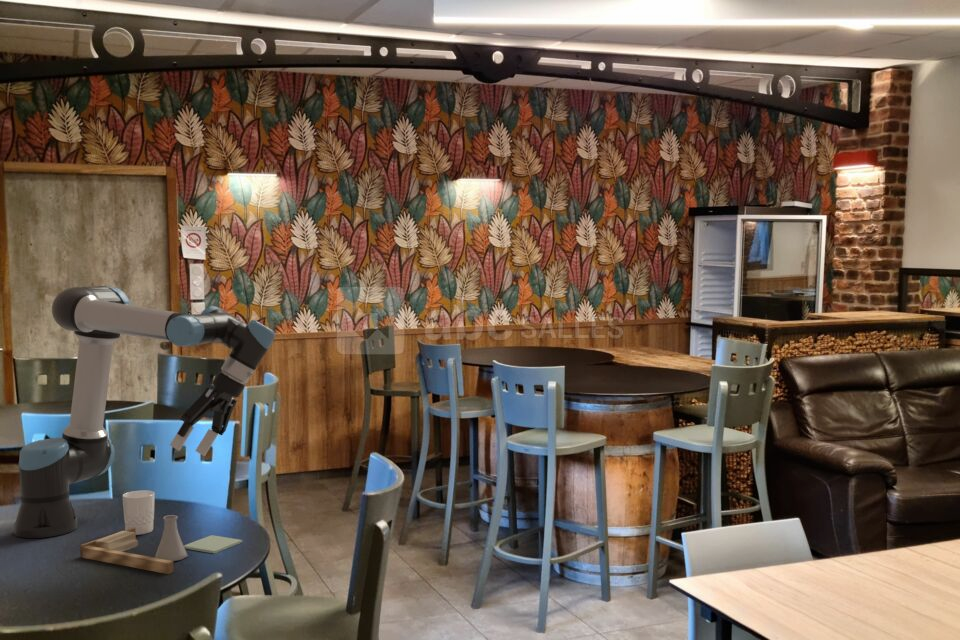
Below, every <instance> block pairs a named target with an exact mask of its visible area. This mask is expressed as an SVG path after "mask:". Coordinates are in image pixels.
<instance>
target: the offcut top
mask: <svg viewBox="0 0 960 640" xmlns="http://www.w3.org/2000/svg"><path fill="white" fill-rule="evenodd" d="M112 534H113V535H112ZM112 534H109V535H110V536H109V535H107V536H108V537H106V536H104V537H105V538H103V537H101V538H102V539H100V538H99V539H100V540H97V539H96V540H97V541H96V547H99V548H104V549H110V550H113V549H115V548H118V547H120V546H123V545H125V544H128V543H130V542H133V541H135V540H137V538H136V536H137V535H136V536H135V532H128V531H124V530H121V531H119V532H116V533H112Z"/></svg>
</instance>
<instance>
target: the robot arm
mask: <svg viewBox="0 0 960 640" xmlns="http://www.w3.org/2000/svg"><path fill="white" fill-rule="evenodd" d="M51 313H52V314H51V315H52V317H53V320H54V321H55V322H56V324H57V325H58V326H59V327H61V328H62V329H64V330H67V331H69V332H70V331H71V332H74V333H73V334H74V336H75V337H76V338H77V339H78V341H79V342H78V349H77V358H76V366H75V374H74V375H75V376H74V383H73V384H74V385H73V393H72V400H71V401H72V402H71V409H70V418H69V419H70V420H69V424H68V425H67V426H66V427H64V428H63V430H62V433H61V434H62V435H61V438H60V437H52V438H45V439H39V440H35V441H33V442H30V443H27V444H25V445H23V447H22V448H21V449H20V451H19V461H18V467H19V468H18V469H19V470H18V471H19V490H20V491H19V492H20V494H19V495H20V505H19V508H18V511H17V515H16V519H15V522H14V525H13V535H14V536H15V537H19V538H24V539H42V538H50V537H56V536H61V535H65V534H68V533H72V532H73V531H74V530H77V528H78V518H77V515H76V512H75V510H74V507H73V505H72V502H71V499H70V485H72V484H76V483H78V482H79V483H80V482H83V481H85V480H91V479H94V478H97V477H98V476H100V475H102V474H104V473H106V472H107V471H108V470H110V468H111V467H112V464H113V463H114V459H115V452H116V451H115V446H114V445H113V444H112V439H110V437H108V436H109V431H108V430H106V428H104V421H105V416H106V415H105V413H106V405H107V398H108V397H107V396H108V388H109V380H110V372H111V365H112V358H113V357H112V356H113V355H112V354H113V346H114V343H115V342H117V341H118V340H119V339H121V335H126V336H132V337H140V338H145V339H151V340H157V341H164V342H169V343H170V342H171V343H172V344H173V345H174V346H177V347H186V348H187V347H188V348H189V347H191V348H192V347H194V346H198V345H199V346H200V345H207V344H215V343H220V344H222V345H223V346H225V347H227V348H228V349H230V350H231V351H230V354H228V357H226V360H225V361H224V363H223V364H222V366H221V367H220V368H221V371H219V372H218V371H217V374H216V375H215V377H214V379H213V380H212V385H213V386H214V388H213V389H212V388H210V387H207V388H205V390H204V391H203V393H202V394H201V395H200V396H199V397H198V399H196V400H195V402H193V404H192V405H191V406H189V407H188V409H187V410H186V411H185V412H184V413H182V415H181V418H180V420H181V421H182V424H181V426H180V428H179V430H177V432H176V434H175V435H174V437H173V439H172V441H171V442H170V444H169V446H171V448H173V449H175V450H177V451H179V452H180V451H181V449H182V448H183V446H184V444H185V443H186V441H187V440H188V438H189V437H190V434H191V433H192V432H193V430H194V425H195V424H196V423H198V422H199V421H201V420H202V419H203V418H204V417H205V416H207V415H208V414H209V413H211V412H212V413H213V416H212V417H213V418H212V423H211V428H208V430H207V431H206V433H205V434H204V436H203V438H202V439H201V441H200V443H199V444H198V445H197V447H196V449H195V452H197V453H198V454H200V455H201V456H203V457H205V456H206V455H207V454H208V452H209V450H210V449H211V447H212V445H213V444H214V442H215V440H216V439H217V437H218V435H220V436H223V435H224V433H225V432H226V430H227V427H228V425H229V421H230V419H231V416H232V413H233V411H234V407H235V405H236V404H237V402H238V400H237V399H236V398H239V397H240V395H241V394H242V392H243V390H244V389H245V384H247V383H248V382H249V381H250V379H251V378H253V377H254V373H255V370H257V367H258V366H259V365H260V363H261V361H262V359H263V358H264V356H265V355H266V353H267V352H268V351H269V350H270V347H271V346H272V343H273V341H274V339H275V338H276V332H275V331H274V330H272V329H271V328H269V327H268V326H266V325H264V324H263V323H261V322H259V321H258V320H256V319H251V320H250V321H249V322H248V323H245V322H244V321H242V320H240V319H239V318H238V317H235V316H234V315H232V314H231V313H229V312H228V311H226V310H225V309H222V308H219V307H218V306H215V305H210V306H208V307H207V308H205V309H203V310H202V311H201V313H200V314H192V313H191V314H190V313H186V312H178V311H170V310H164V309H157V308H150V307H143V306H137V305H133V304H132V303H131V300H130V299H129V297H128V296H127V295H126V293H125V291H123V290H121V289H119V288H118V287H115V286H107V285H98V286H73V287H69V288H66V289H64V290H62V291H61V292H60V293H58V294H57V295H56V296H55V298H54V299H53V302H52V305H51Z"/></svg>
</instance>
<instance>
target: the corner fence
mask: <svg viewBox="0 0 960 640" xmlns="http://www.w3.org/2000/svg"><path fill="white" fill-rule="evenodd" d="M123 531H128V532H135V536H137V535H136V530H135V528H130V529H127V530H126V529H124V530H123ZM113 534H114V533H112V534H109V535H106V536H103V537H100V538H97V539H94V540H91V541H88V542H85V543H82V544H80V546H79V547H80V549H79V550H80V551H79V552H80V558H83V559H86V560H87V559H88V560H93V561H99V562H103V563H108V564H109V563H110V564H114V565H119V566H125V567H130V568H135V569H140V570H146V571H151V572H155V573H160V574H165V575H170V574H172V573H174V561H170V560H164V559H159V558H155V557H152V556H149V555H148V556H147V555H141V554H136V553H131V552H125V551H122V552H121V551H115V550H110V549H104V548H99V547H96V541H97V540H100V539H102V538H105V537H108V536H110V535H113Z"/></svg>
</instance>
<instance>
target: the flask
mask: <svg viewBox="0 0 960 640" xmlns="http://www.w3.org/2000/svg"><path fill="white" fill-rule="evenodd" d="M178 518H179V517H178V516H177V515H174V514H171V515H170V514H169V515H165V516H162V520H163V523H164V525H163V532H162V535H161V538H160V542H159V543H158V544H159V545H158V547H157V549H156V552H155V556H154V558H159V559H164V560H170V561H173V562H176V561H177V562H178V561H180V560H183V559H185V558H187V557H188V553H187V549H185V548H184V543H183V541H182V539H181V536H180V534H179V529H178V524H177V522H178V521H177V520H178Z"/></svg>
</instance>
